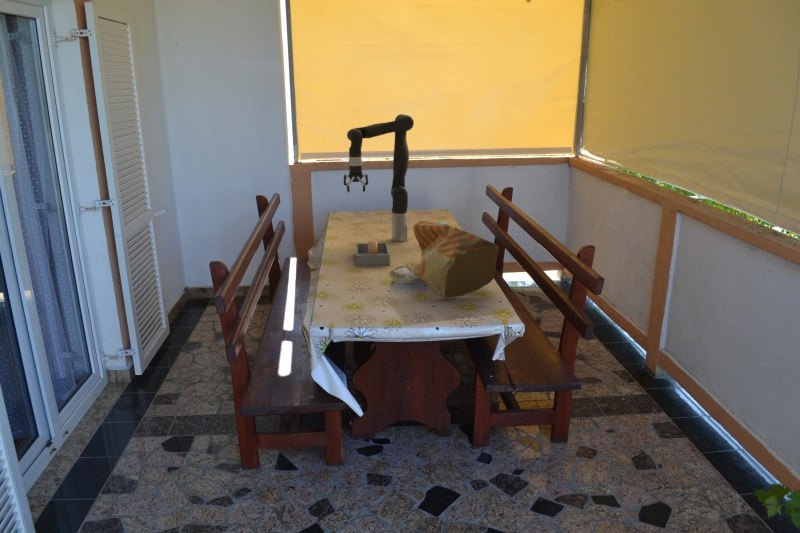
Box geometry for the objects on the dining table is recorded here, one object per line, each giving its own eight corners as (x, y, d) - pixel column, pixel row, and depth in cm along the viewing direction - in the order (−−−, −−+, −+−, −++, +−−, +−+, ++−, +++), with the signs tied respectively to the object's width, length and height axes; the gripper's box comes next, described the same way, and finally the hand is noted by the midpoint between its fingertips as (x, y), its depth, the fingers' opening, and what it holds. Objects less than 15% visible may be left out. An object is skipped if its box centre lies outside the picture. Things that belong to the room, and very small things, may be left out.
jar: (377, 256, 357) (377, 240, 355) (377, 258, 352) (377, 242, 350) (368, 256, 357) (367, 240, 355) (368, 258, 352) (367, 242, 350)
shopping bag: (468, 234, 277) (405, 203, 302) (437, 299, 282) (378, 263, 306) (508, 249, 305) (448, 219, 330) (480, 308, 309) (423, 274, 334)
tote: (387, 252, 367) (387, 242, 365) (389, 265, 344) (389, 254, 342) (356, 253, 366) (355, 243, 364) (356, 266, 343) (356, 255, 341)
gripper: (367, 163, 372) (368, 190, 377) (343, 163, 371) (344, 191, 376) (368, 165, 365) (368, 193, 370) (343, 165, 364) (343, 193, 369)
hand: (356, 192), depth 373 cm, fingers open, 8 cm apart
